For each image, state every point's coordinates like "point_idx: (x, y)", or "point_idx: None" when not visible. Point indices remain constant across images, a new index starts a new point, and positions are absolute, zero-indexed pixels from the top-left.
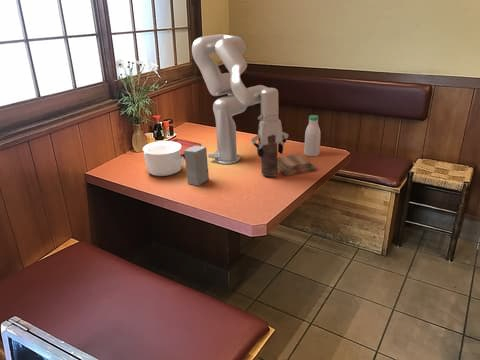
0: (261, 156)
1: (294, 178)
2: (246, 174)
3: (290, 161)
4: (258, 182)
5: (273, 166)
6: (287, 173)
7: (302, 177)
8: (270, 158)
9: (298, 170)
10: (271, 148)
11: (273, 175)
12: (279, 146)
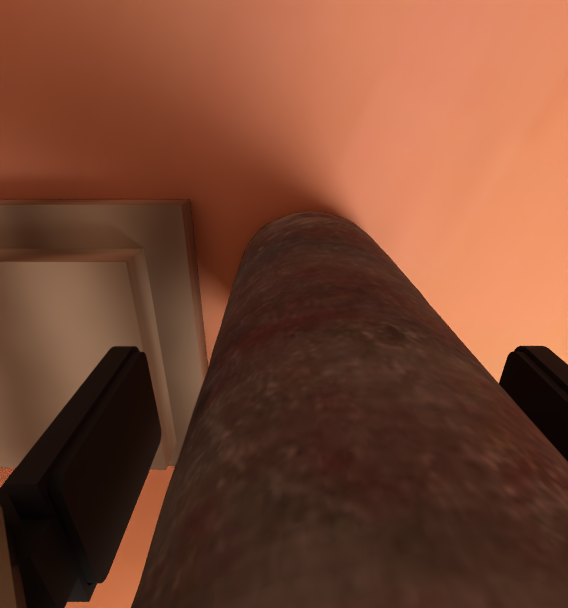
0: (545, 352)
1: (114, 107)
2: (475, 353)
3: (60, 361)
4: (480, 165)
5: (309, 237)
6: (155, 203)
7: (25, 96)
8: (377, 281)
9: (28, 209)
10: (424, 412)
11: (304, 212)
12: (98, 505)
